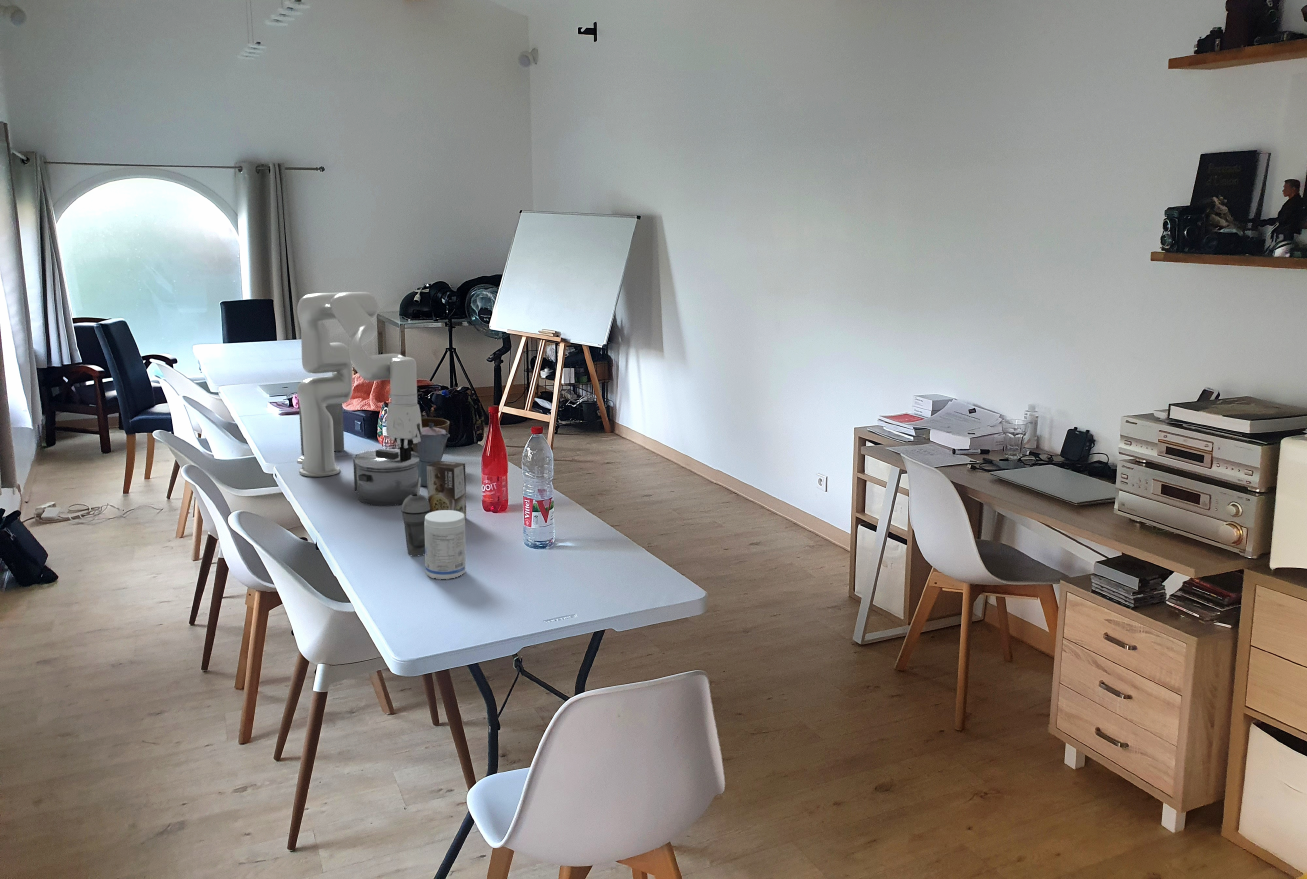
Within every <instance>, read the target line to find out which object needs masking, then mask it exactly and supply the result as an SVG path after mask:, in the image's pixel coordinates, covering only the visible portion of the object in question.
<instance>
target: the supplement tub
mask: <svg viewBox="0 0 1307 879" xmlns="http://www.w3.org/2000/svg"><path fill="white" fill-rule="evenodd" d="M465 519H466V518H465V517H464V514H463V513H461V512H459V511H453V510H439V511H434V512H430V513H428V514H427V515H426V516H425V522H424V523H425V524H424V526H425V555H424V559H425V560H424V563H425V565H424V567H425V570H424V571H425V574H426V575H427V576H428V577H429V578H432V579H434V578H436V579H435V580H441V579H446V580H450V579H449V578H454V579H456V578H455V577H457V578H459V577H458V576H460V575H461V576H463V575H464V574H465V573H466V520H465ZM463 573H464V574H463ZM462 574H463V575H462ZM461 576H460V577H461Z"/></svg>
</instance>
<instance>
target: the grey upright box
mask: <svg viewBox="0 0 1307 879" xmlns="http://www.w3.org/2000/svg"><path fill="white" fill-rule="evenodd" d="M325 408H326V409H327V411H328V412H329V413H330V415H331V417H332V419H333V435H334V451H340V452H343V451H345V437H344V435H345V434H344V433H345V432H344V416H343V415H344V411H343V403H341V404H334V405H329V406H325ZM298 412H299V413H298V414H299V415H298V416H299V429H300V430H299V432H300V450H301V452H300V453H301V454H302V455H303V454H304V447H303V428H302V415H301V408H300V404H299V405H298ZM342 450H343V451H342Z"/></svg>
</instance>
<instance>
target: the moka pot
mask: <svg viewBox="0 0 1307 879" xmlns="http://www.w3.org/2000/svg"><path fill="white" fill-rule="evenodd" d="M433 425H434V423H429V428H422V435H421V436H420V439H421V442H418V443H417V448H418V453H417V454H419V464H418V476H419V477H421V484H420V487H421V486H422V487H428V485H427V465H430V464H432V463H434V462H436V461H442V460H441V459H443V457H442V453H443V447H444V444H445V442H446V440H448V438H449V437H450V434H449V432H448V433H446V431H445V430H443V429H439V428H433ZM446 443H447V442H446ZM411 452H414V450H413V448H412V447H411ZM415 453H416V452H415ZM443 454H444V453H443Z"/></svg>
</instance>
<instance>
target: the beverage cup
mask: <svg viewBox="0 0 1307 879" xmlns="http://www.w3.org/2000/svg"><path fill="white" fill-rule="evenodd" d="M420 484H421V477H419V483H418V493H417V494H412V495H410V496H408V497H407V498H406V499H405V500H404V502H403V504H402V505H401V510H400V511H401V514H402V519H403V525H404V533H405V539H406V540H405V541H406V548H407V554H409V555H408V556H410V555H412V556H411V557H419V556H418V555H422V556H424V555H423V554H425V526H424V524H425V523H424V522H425V516H426V515H427V514H428V513H430V511H431V508H430V504H429V502H428V498H426V496H424V495H423V494H420V492H421V485H420Z"/></svg>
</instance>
